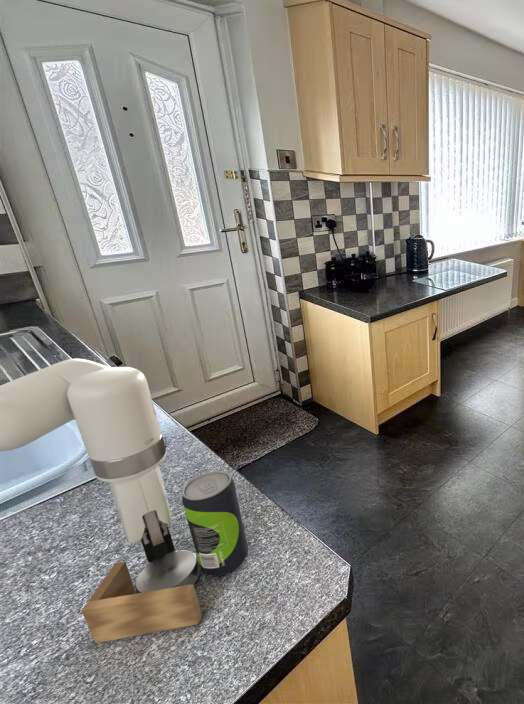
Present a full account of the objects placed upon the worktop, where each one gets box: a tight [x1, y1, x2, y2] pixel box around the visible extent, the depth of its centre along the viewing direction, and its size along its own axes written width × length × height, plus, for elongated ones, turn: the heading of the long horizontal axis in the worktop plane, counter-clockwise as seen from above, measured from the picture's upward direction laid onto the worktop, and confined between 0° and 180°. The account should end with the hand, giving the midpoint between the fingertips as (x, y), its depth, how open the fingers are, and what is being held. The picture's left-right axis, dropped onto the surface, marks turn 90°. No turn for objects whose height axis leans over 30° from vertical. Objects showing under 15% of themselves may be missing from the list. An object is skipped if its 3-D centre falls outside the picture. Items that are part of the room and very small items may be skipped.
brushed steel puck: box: [134, 549, 201, 594], centre depth 61 cm, size 7×7×2 cm
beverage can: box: [181, 470, 249, 577], centre depth 63 cm, size 6×6×15 cm
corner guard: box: [81, 561, 203, 644], centre depth 57 cm, size 12×7×6 cm, turn 104°
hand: (161, 553), depth 64 cm, fingers closed
